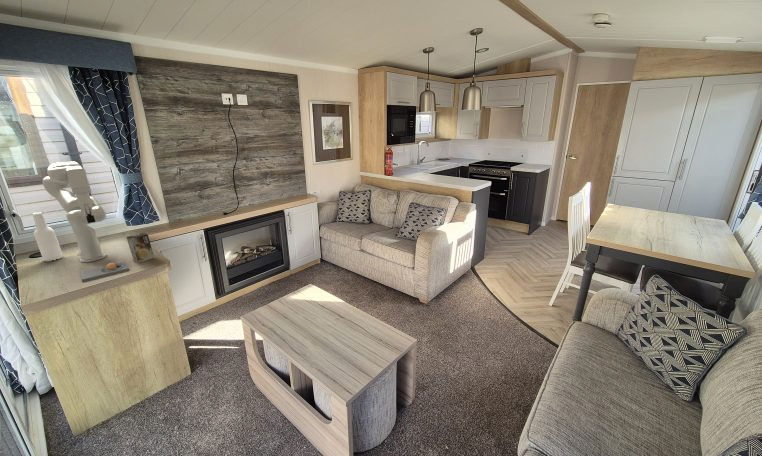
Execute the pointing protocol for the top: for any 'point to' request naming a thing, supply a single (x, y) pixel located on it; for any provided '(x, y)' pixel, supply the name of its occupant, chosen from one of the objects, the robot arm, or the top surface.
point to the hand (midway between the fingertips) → (91, 222)
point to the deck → (103, 271)
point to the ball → (111, 266)
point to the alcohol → (46, 239)
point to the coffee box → (140, 247)
